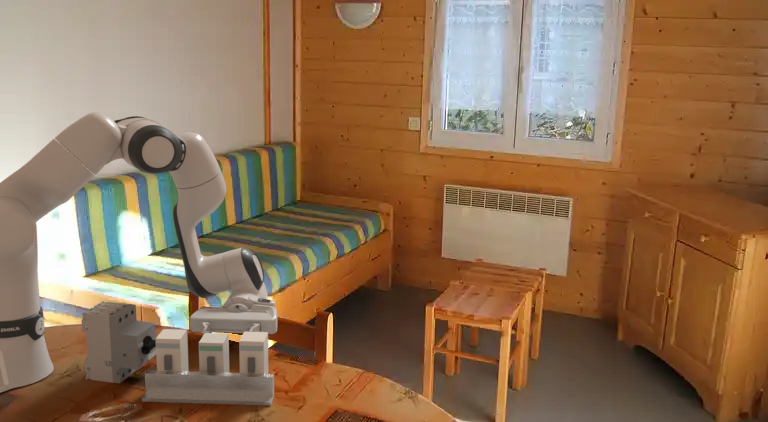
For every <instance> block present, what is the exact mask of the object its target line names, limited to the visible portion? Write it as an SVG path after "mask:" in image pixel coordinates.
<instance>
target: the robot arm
mask: <svg viewBox="0 0 768 422" xmlns="http://www.w3.org/2000/svg"><path fill="white" fill-rule="evenodd" d="M119 159H123V160H124V161H125V163H127V164H128V165H130V166H131V167H132V168H134V169H136V170H139V171H140V172H143V173H146V174H150V175H152V174H153V175H155V174H162V173H167V172H168V173H169V175H171V178H172V180H173V183H174V185H175V188H176V191H177V195H178V198H177V199H178V200H177V203H176V204H175V205H174V206H173V208H172V209H173V211H172V219H173V223H174V229H175V234H176V238H177V242H178V245H179V249H180V254H181V257H182V258H181V259H182V262H183V267H184V275H185V279H186V280H185V282H186V285H187V288H188V290H189V292H190V293H192V294H193V295H194V296H197V297H198V298H200V299H201V298H202V299H206V298H210V297H212V296H216V295H217V294H219V293H224V292H228V291H231V293H230V295H229V296H228V297H227V298H226V300H225V302H224V303H223V305H222V306H221V307H201V308H199V309H197V310H195V312H193V313H192V314H191V315H190V317H189V329H190V331H191V332H193V333H202V334H203V335H204V334H205V333H221V334H243V333H244V332H268V335H273V334H275V333H277V331H278V310H277V306H276V305H277V304H276V301H275V300H273V299H267V287H266V284H265V282H264V281H265V274H264V269H263V264H262V262H261V260H260V258H259V256H258V255H257V254H256V253H255V252H254V251H252V250H251V249H249V248H247V247H244V246H242V247H238V248H235V249H230V250H228V251H225V252H220V253H217V254H213V255H210V256H209V255H208V256H207V255H206V256H205V255H203V254H202V253H201V248H200V245H199V241H198V240H199V239H198V236H197V235H198V234H197V232H196V227H197V226H198V224H200V222H202V221H203V220H205V219H206V218H208V216H210V215H211V214H213V213H214V212H215V211H216V210H217V209H218V208H219V207H220V206H221V204H223V201H224V200H225V197H226V194H227V184H226V180H225V178H224V175H223V171H222V170H221V167H220V164H219V163H218V160H217V159H216V156H215V154H214V153H213V151H212V149H211V147H210V145H208V143H207V141H206V139H204V137H203V136H202V135H201V134H199V133H196V132H194V131H193V132H192V131H185V132H181V133H178V134H175V133H173V131H171V130H169V129H168V128H166V127H164V126H162V125H161V124H160V122H157V121H155V120H152V119H149V118H146V117H144V116H137V115H136V116H135V115H134V116H133V115H132V116H127V117H123V118H120V119H115V120H113V118H111V117H109V116H108V115H106V114H104V113H100V112H90V113H88V114H85V115H84V116H82V117H81V118H79V119H78V120H76V121H74V122H73V123H71V124H70V125H69V126H67V127H66V128H64V129H63V130H62V131H61V132H60V133H59V134H58V135H56V136H55V137H54V138H53V139H51V140H50V141H49V143H47V144H46V145H45V146H44V147H42V149H40V150H39V152H37V153H35V155H34V156H33V157H32V158H31V159H30V160H28V161H27V162H25V164H24V165H23V166H21V167H20V168H18V169H17V170H15V171H14V172H13V173H12V174H10V175H9V176H7V177H6V178H5V179H3V180H2V181H0V394H1V393H3V392H6V391H9V390H11V389H15V388H19V387H25V386H28V385H31V384H34V383H37V382H39V381H41V380H44V379H45V378H46V377H48V376H50V375H51V374H52V372H53V371H54V368H55V366H54V363H53V362H52V359H51V357H50V354H49V350H48V347H47V343H46V340H45V339H46V338H45V318H44V308H43V307H42V306H41V301H40V300H41V299H40V287H39V286H40V285H39V274H38V273H39V272H38V271H39V269H38V267H39V265H38V264H39V263H38V262H39V257H38V255H39V254H38V228H37V227H38V226H37V222H38V221H39V220H41V219H42V218H44V217H45V216H46V215H48V214H49V213H50V212H52V211H53V210H55V209H56V208H58V207H60V206H62V205H63V204H65V203H67V202H68V201H70V200H71V199H72V198H73V197H74V196H75V195H77V193H78V192H79V191H80V190H81V189H83V188H84V186H85V185H86V184H88V183H89V182H90V181H91V180H92V179H93V178H94V177H95V176H96V175H98V173H99V172H100V171H102V169H103V168H105V166H106V165H108V164H109V163H111V162H113V161H115V160H119ZM203 335H202V336H203Z"/></svg>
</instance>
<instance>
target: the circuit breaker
mask: <svg viewBox="0 0 768 422" xmlns="http://www.w3.org/2000/svg"><path fill="white" fill-rule="evenodd" d="M81 316H82V319H81V332H82V333H85V335H86V349H87V352H86V353H87V357H85V358H84V360H83V361H84V373H85V374H86V377H85V380H89V379H90V380H91V381H97V382H106V383H113V384H121V383H122V382H123V381H125V380H126V379H127V378H128V377H130V376H131V375H133V374H134V373H135V372H136V371H137V370H139V369H140V368H142V367H144V365H146V364H147V362H150V360H152V359H153V358H155V356H156V337H157V336H156V335H157V334H156V333H157V332H156V322H150V321H142V320H138V319H137V305H136V304H134V303H124V302H114V301H104V300H102V301H100V302H99V303H97V304H96V305H95V304H94V306H93V307H90V308H88V309H87V310H85V311H83V312H82V313H81ZM88 368H89V369H88Z"/></svg>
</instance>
